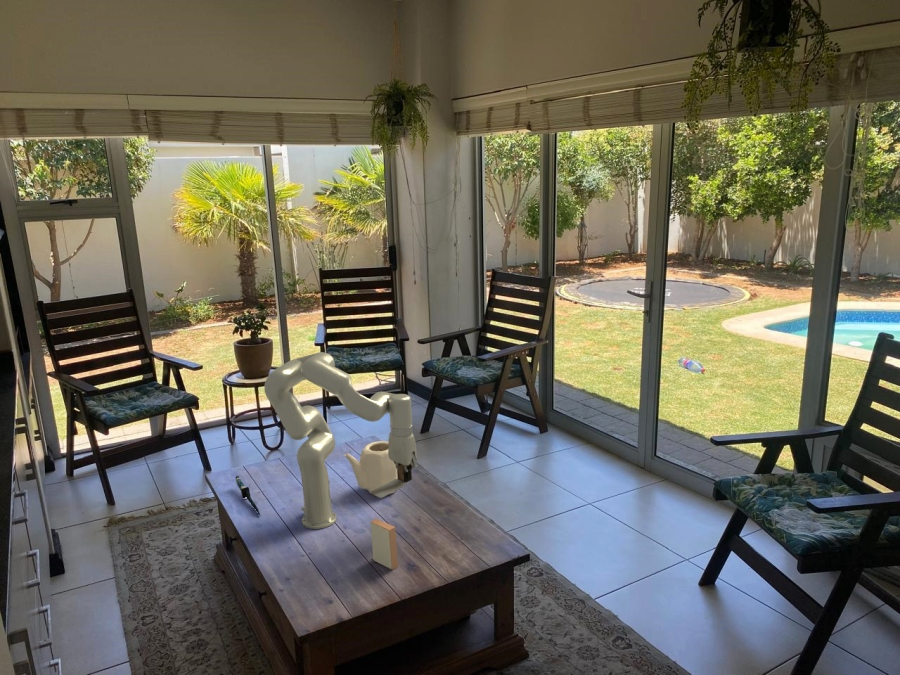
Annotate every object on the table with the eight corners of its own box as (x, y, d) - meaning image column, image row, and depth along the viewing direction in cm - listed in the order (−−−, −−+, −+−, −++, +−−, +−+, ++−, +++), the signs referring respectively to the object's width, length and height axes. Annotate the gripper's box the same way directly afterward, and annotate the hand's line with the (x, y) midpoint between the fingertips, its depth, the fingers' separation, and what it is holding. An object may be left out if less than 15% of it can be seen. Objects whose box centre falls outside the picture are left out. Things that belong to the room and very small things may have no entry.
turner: (370, 493, 227) (369, 477, 225) (404, 476, 238) (403, 461, 237) (380, 498, 223) (379, 481, 222) (414, 480, 235) (413, 464, 233)
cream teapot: (341, 491, 270) (337, 447, 265) (402, 475, 281) (399, 433, 277) (354, 507, 256) (351, 461, 252) (418, 490, 268) (415, 445, 264)
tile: (372, 560, 220) (369, 521, 217) (379, 556, 222) (376, 518, 219) (391, 570, 214) (388, 530, 211) (398, 566, 216) (395, 527, 213)
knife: (235, 485, 276) (234, 475, 275) (243, 483, 278) (242, 473, 276) (254, 523, 251) (252, 513, 250) (262, 521, 253) (261, 511, 251)
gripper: (377, 428, 233) (381, 477, 237) (410, 438, 222) (413, 490, 227) (393, 422, 238) (396, 470, 243) (426, 432, 228) (428, 482, 232)
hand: (404, 479), depth 235 cm, fingers closed on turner, 2 cm apart
